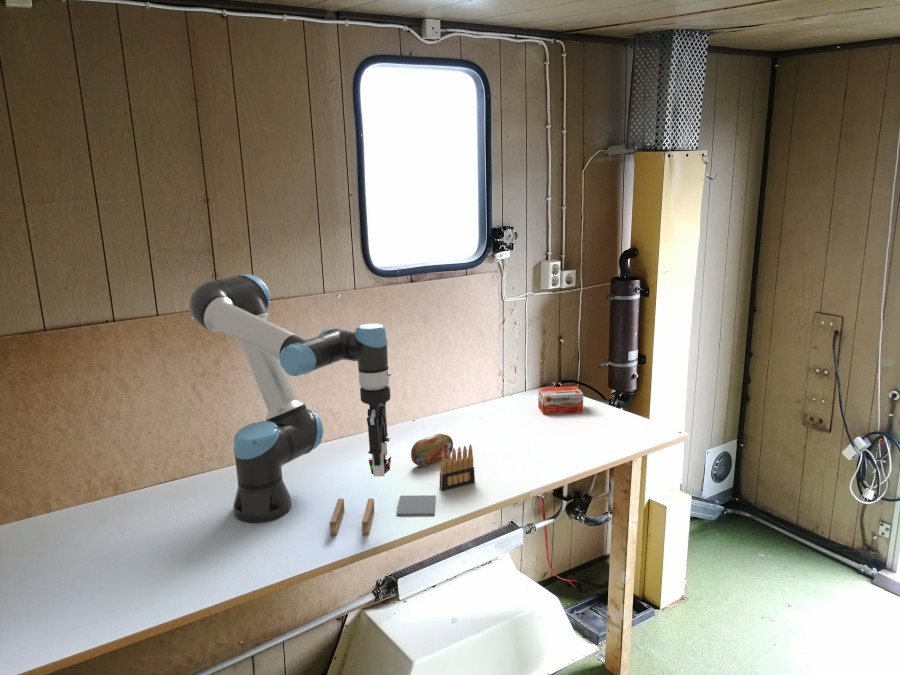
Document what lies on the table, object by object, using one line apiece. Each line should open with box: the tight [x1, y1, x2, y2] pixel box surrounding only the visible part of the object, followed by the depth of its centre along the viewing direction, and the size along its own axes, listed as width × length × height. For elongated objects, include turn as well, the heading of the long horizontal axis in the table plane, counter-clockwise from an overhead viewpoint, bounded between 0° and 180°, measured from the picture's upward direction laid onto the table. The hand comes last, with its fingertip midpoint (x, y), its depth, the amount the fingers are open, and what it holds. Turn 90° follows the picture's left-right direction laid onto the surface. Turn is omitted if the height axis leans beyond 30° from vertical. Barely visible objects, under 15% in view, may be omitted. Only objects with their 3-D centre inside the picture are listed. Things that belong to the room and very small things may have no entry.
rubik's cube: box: [368, 454, 392, 475], centre depth 178 cm, size 4×5×5 cm
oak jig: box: [329, 498, 375, 537], centre depth 178 cm, size 10×12×4 cm
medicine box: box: [537, 385, 584, 416], centre depth 255 cm, size 15×8×8 cm, turn 97°
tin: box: [410, 433, 454, 468], centre depth 213 cm, size 15×3×8 cm, turn 129°
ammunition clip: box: [439, 444, 476, 492], centre depth 197 cm, size 11×2×12 cm, turn 117°
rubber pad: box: [396, 494, 437, 517], centre depth 187 cm, size 10×10×1 cm
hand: (381, 470), depth 178 cm, fingers closed on rubik's cube, 5 cm apart
